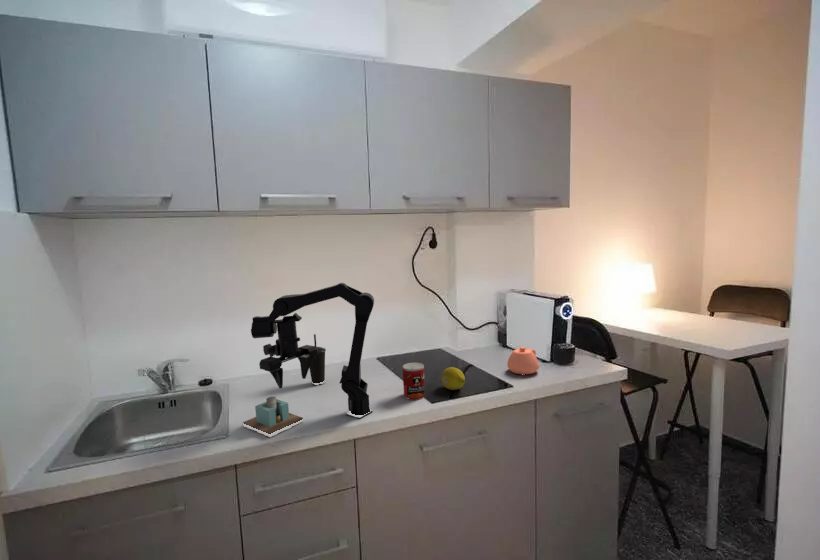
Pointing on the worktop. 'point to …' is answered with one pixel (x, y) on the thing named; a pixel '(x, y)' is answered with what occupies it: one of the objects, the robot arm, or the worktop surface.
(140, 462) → the worktop surface
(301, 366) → the robot arm
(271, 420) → the collar
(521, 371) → the orange teapot
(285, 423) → the board
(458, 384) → the lemon
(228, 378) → the worktop surface
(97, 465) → the worktop surface
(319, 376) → the drinking cup
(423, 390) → the canned food
